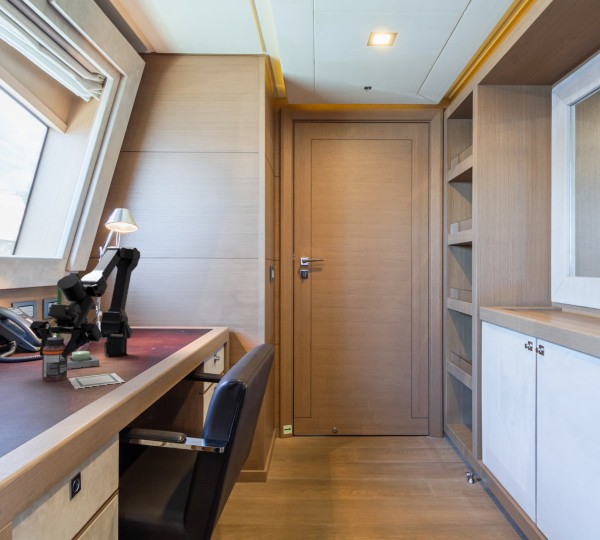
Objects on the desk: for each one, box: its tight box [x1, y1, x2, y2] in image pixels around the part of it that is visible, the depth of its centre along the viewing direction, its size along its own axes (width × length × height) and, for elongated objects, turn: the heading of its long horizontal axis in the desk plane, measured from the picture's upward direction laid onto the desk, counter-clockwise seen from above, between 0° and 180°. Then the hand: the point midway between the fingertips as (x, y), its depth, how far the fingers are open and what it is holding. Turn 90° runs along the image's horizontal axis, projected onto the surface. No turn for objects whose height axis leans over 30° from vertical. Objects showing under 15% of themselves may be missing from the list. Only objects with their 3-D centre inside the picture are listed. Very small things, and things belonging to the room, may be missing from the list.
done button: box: [71, 350, 91, 362], centre depth 132 cm, size 5×5×2 cm
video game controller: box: [64, 339, 90, 355], centre depth 146 cm, size 10×5×7 cm, turn 71°
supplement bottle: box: [41, 336, 68, 382], centre depth 115 cm, size 6×6×11 cm
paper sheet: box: [68, 372, 126, 390], centre depth 114 cm, size 12×11×1 cm
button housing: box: [67, 354, 100, 370], centre depth 132 cm, size 9×9×2 cm
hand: (52, 356), depth 113 cm, fingers closed on supplement bottle, 6 cm apart
